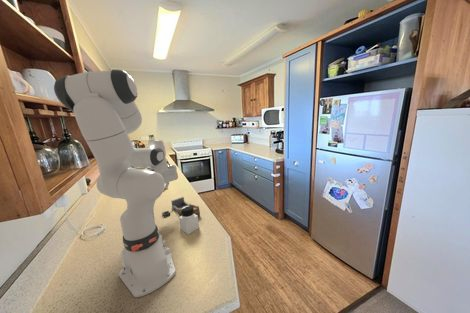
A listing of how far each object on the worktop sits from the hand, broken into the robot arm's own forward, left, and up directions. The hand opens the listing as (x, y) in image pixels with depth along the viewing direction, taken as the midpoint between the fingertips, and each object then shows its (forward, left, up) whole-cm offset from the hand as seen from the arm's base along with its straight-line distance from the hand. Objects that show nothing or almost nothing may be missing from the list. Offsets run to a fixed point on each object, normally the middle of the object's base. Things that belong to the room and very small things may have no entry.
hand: (162, 191), depth 103 cm
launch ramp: (-10, -10, -16) cm, 21 cm away
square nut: (0, 0, -16) cm, 16 cm away
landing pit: (+1, -10, -16) cm, 19 cm away
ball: (0, 0, +1) cm, 1 cm away
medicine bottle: (-23, -4, -16) cm, 28 cm away
